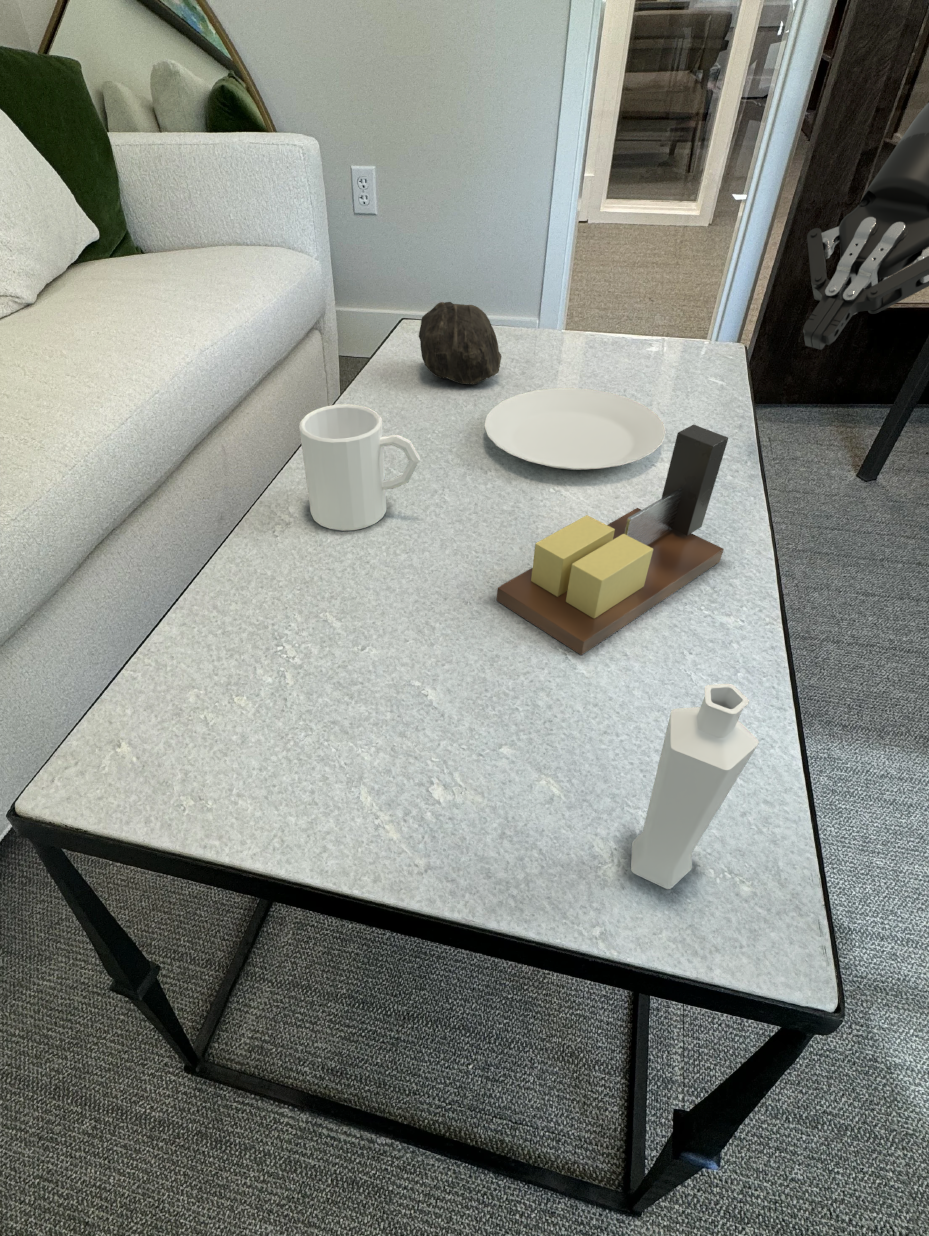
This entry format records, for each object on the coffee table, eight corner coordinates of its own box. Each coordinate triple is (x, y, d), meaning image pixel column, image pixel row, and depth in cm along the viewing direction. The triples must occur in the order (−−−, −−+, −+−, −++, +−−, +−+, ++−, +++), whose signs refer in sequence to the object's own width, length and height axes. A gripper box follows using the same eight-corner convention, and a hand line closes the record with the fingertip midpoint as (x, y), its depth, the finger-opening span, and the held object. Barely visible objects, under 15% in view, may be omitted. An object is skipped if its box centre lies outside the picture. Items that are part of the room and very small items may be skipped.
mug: (410, 541, 73) (407, 449, 66) (299, 525, 76) (286, 435, 69) (430, 500, 79) (430, 411, 72) (327, 487, 81) (317, 400, 74)
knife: (670, 513, 72) (693, 424, 66) (701, 527, 70) (728, 437, 64) (604, 552, 68) (622, 461, 61) (635, 569, 66) (657, 476, 59)
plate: (652, 407, 93) (656, 390, 91) (669, 491, 78) (674, 472, 77) (489, 402, 96) (491, 385, 94) (477, 482, 81) (478, 463, 80)
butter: (580, 551, 69) (586, 514, 66) (644, 586, 64) (653, 548, 62) (530, 580, 66) (535, 543, 63) (594, 619, 62) (601, 580, 59)
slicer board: (634, 520, 75) (637, 507, 74) (719, 562, 69) (724, 548, 68) (496, 600, 66) (497, 587, 65) (581, 655, 61) (583, 642, 60)
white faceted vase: (705, 849, 47) (785, 685, 37) (684, 902, 45) (763, 741, 34) (637, 819, 49) (693, 654, 38) (613, 868, 46) (666, 705, 36)
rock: (498, 388, 96) (493, 304, 90) (416, 395, 99) (405, 314, 93) (507, 367, 104) (502, 288, 98) (430, 374, 107) (421, 298, 101)
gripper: (860, 121, 65) (741, 302, 69) (1023, 137, 58) (881, 339, 61) (864, 183, 71) (755, 346, 75) (1013, 204, 64) (884, 384, 67)
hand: (812, 343), depth 68 cm, fingers closed
